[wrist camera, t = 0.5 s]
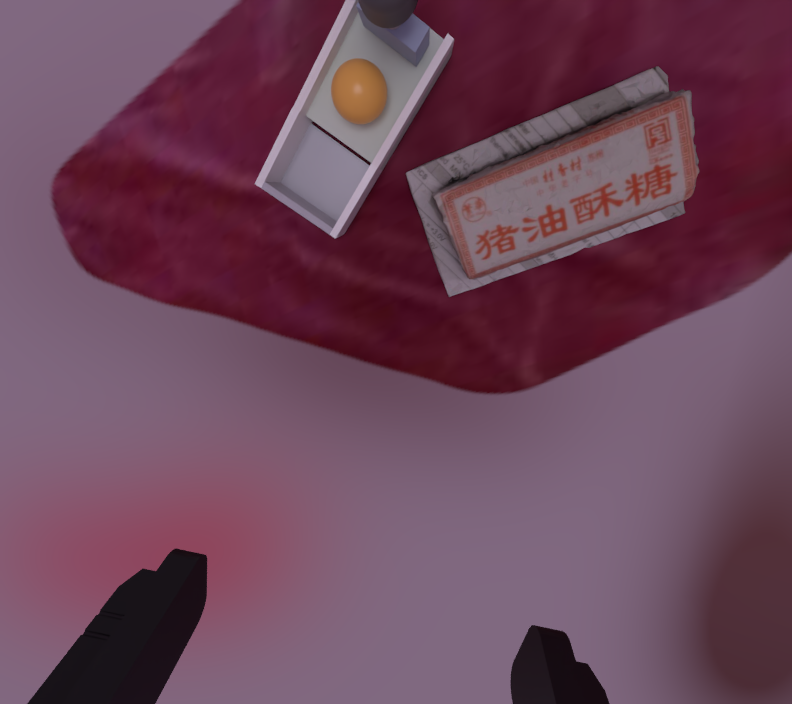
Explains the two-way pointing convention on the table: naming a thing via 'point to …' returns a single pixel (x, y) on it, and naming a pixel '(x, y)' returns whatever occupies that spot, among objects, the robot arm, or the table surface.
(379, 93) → the ball
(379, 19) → the striker
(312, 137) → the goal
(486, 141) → the packaged product
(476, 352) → the table surface
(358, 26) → the tray
